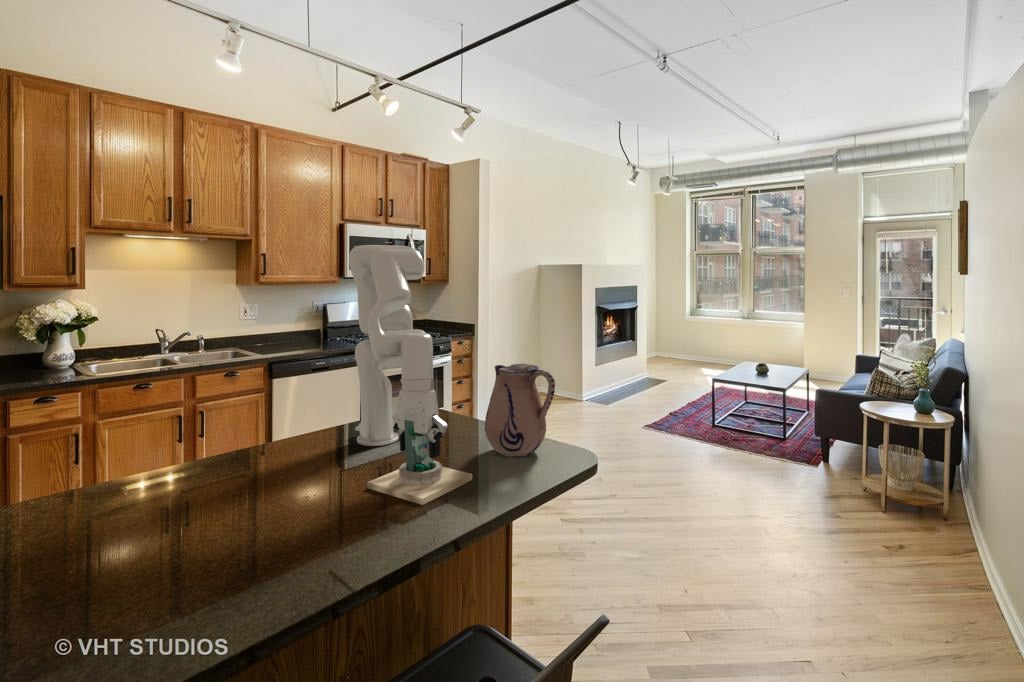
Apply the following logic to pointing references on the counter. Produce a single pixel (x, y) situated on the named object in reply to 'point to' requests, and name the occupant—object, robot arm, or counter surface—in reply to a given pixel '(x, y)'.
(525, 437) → the ceramic pitcher
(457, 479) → the socket board
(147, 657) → the counter surface
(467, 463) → the counter surface
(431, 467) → the can
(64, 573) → the counter surface
